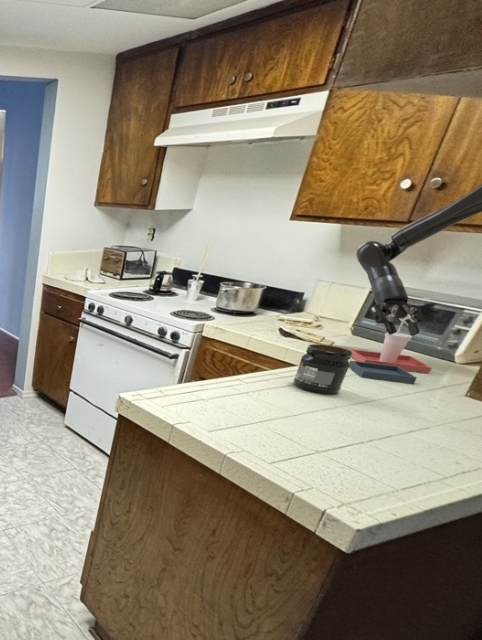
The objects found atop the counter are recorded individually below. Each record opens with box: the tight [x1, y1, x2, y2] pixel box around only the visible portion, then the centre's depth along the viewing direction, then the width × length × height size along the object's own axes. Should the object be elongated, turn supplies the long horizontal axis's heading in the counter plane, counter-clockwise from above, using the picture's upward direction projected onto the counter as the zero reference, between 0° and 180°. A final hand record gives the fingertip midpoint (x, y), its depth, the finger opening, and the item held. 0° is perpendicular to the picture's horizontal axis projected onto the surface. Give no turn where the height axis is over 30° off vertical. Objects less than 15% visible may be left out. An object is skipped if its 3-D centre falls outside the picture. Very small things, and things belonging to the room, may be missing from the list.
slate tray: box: [349, 360, 417, 385], centre depth 148 cm, size 12×12×2 cm
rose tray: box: [350, 349, 432, 375], centre depth 159 cm, size 16×14×2 cm
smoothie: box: [379, 321, 413, 363], centre depth 157 cm, size 6×6×14 cm
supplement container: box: [293, 343, 352, 395], centre depth 134 cm, size 10×10×12 cm
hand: (404, 333), depth 154 cm, fingers closed on smoothie, 6 cm apart
